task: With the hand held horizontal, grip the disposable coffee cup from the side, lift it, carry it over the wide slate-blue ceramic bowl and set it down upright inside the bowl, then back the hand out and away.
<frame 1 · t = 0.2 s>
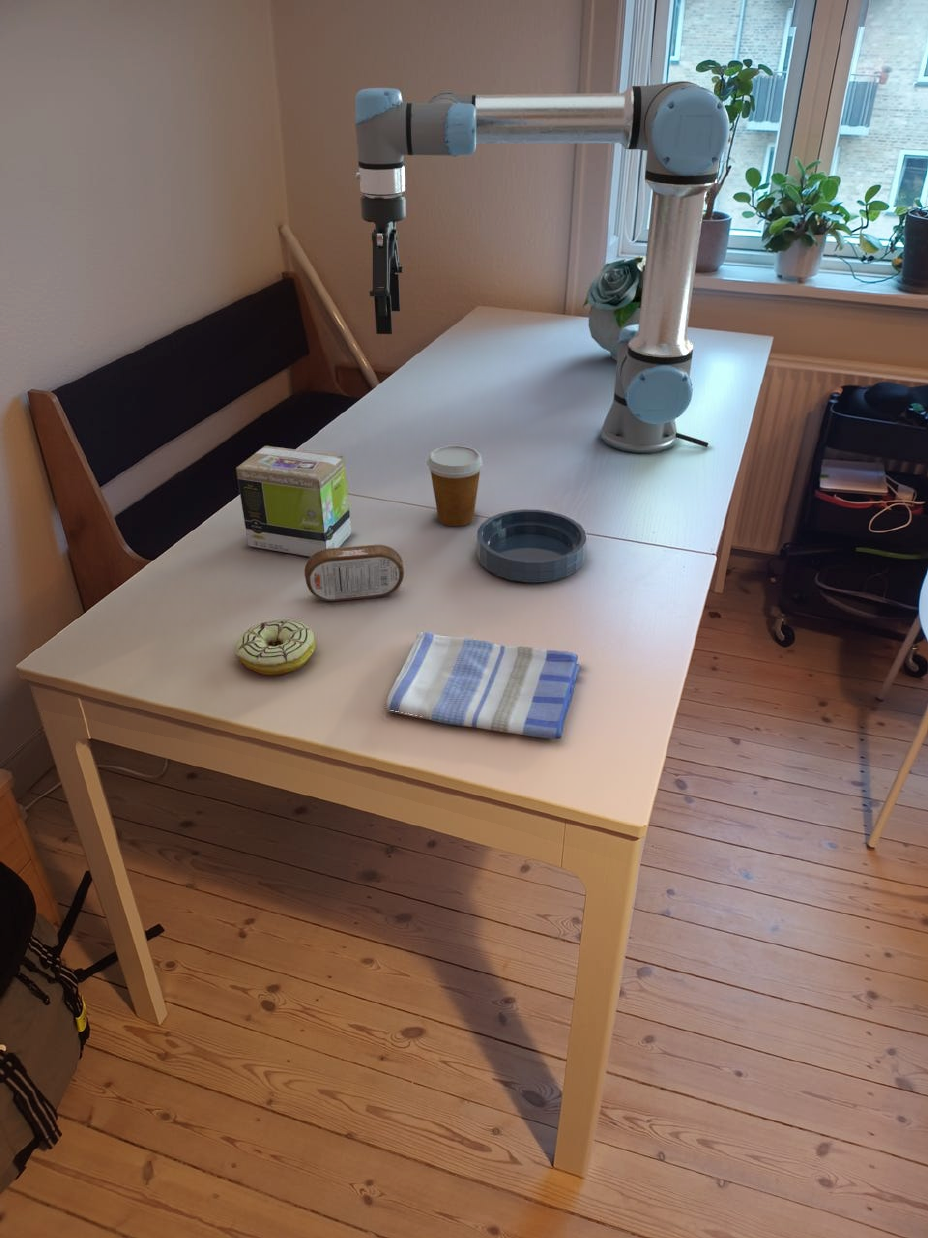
hand: (388, 321, 169), 28 cm above the table, tool pointing down, fingers open, 13 cm apart
tin: (356, 597, 145), on the table
tea box: (300, 541, 160), on the table
disposable coffee cup: (455, 519, 166), on the table
dish towel: (484, 691, 126), on the table
flower arrangement: (628, 358, 236), on the table
bowl: (530, 556, 155), on the table
decorated donut: (277, 658, 132), on the table
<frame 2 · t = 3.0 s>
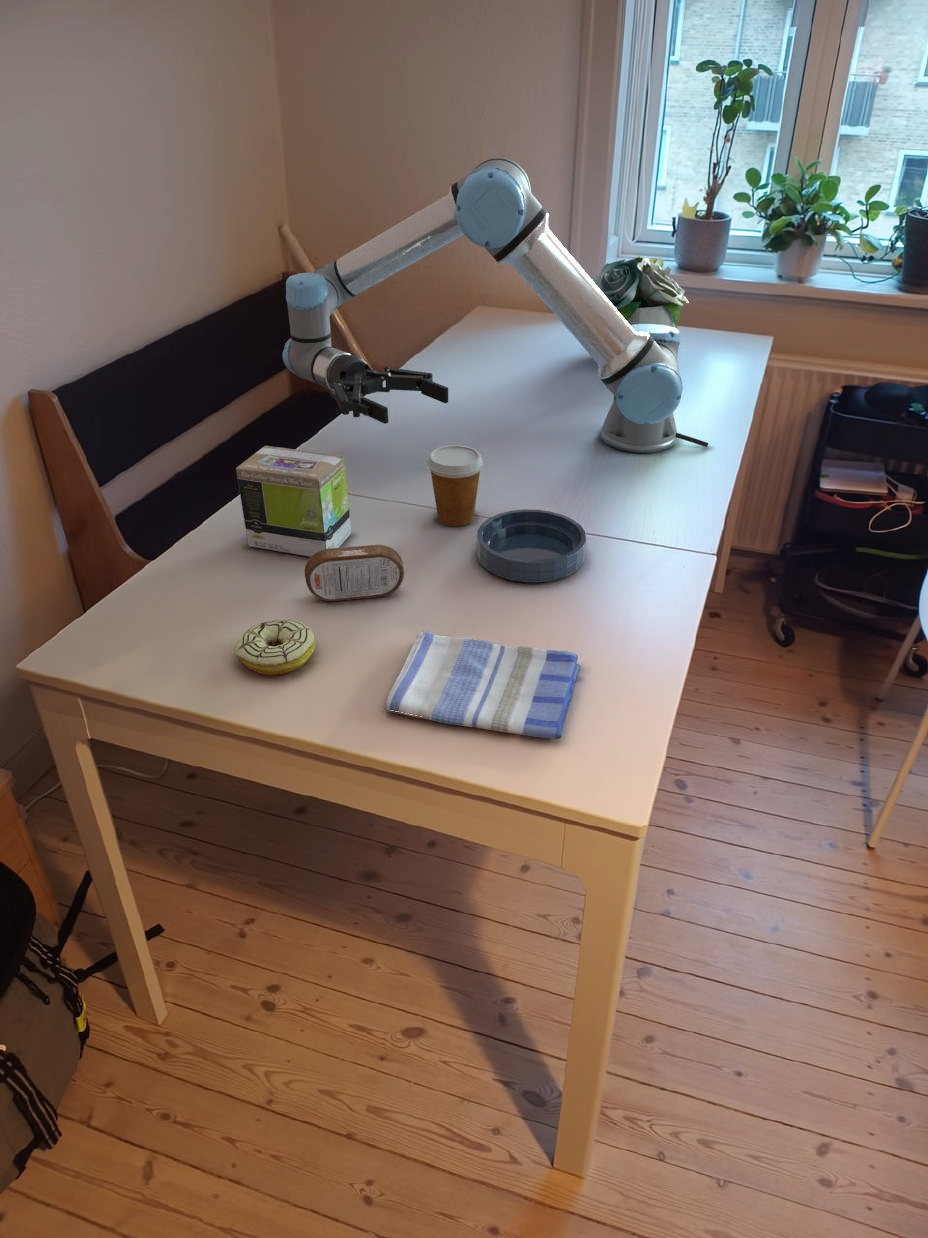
hand: (417, 405, 162), 18 cm above the table, tool horizontal, fingers open, 13 cm apart
nothing on the table moved.
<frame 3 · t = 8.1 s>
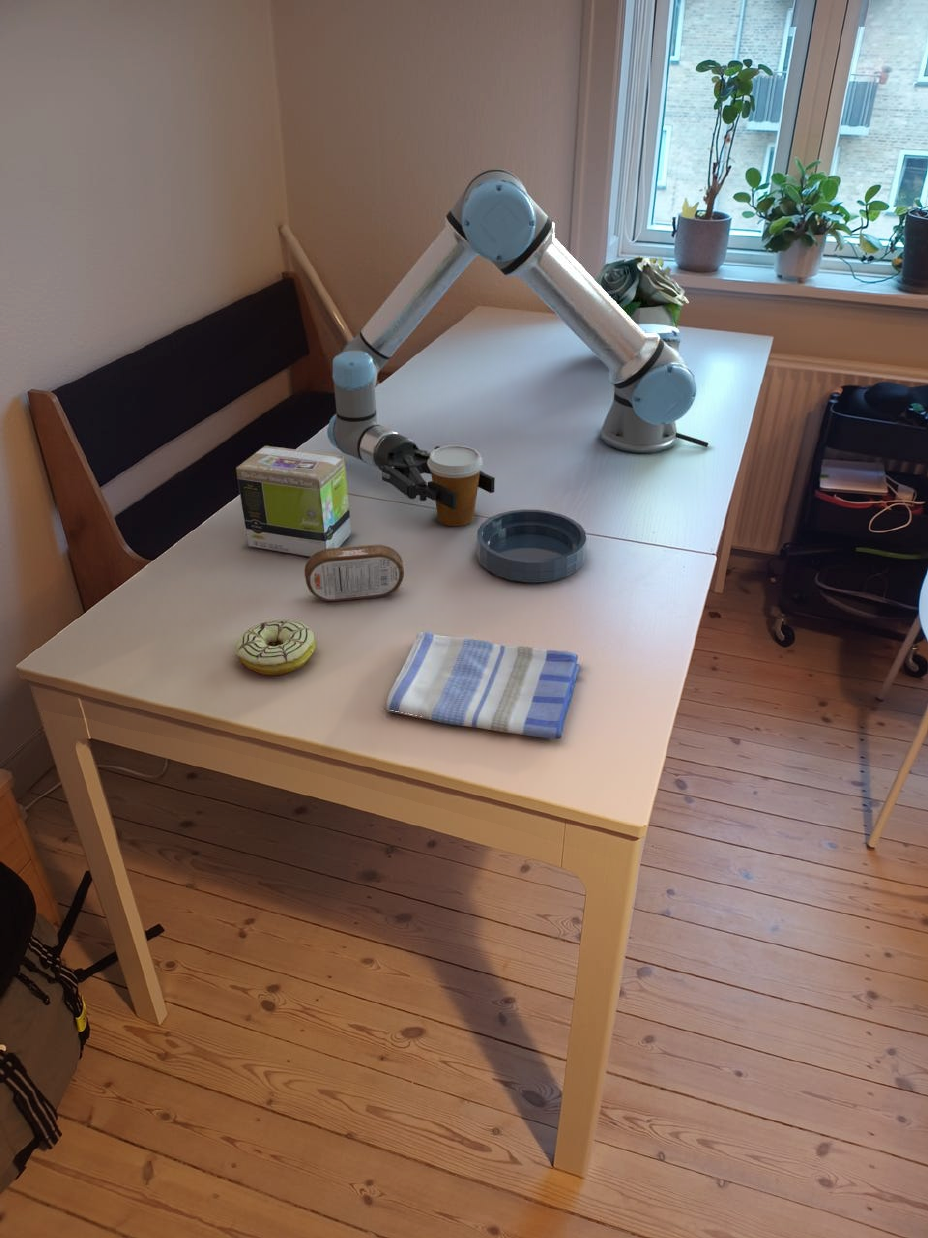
hand: (474, 493, 159), 7 cm above the table, tool horizontal, fingers closed on disposable coffee cup, 8 cm apart
disposable coffee cup: (455, 519, 166), on the table, touching gripper
everything else where it was.
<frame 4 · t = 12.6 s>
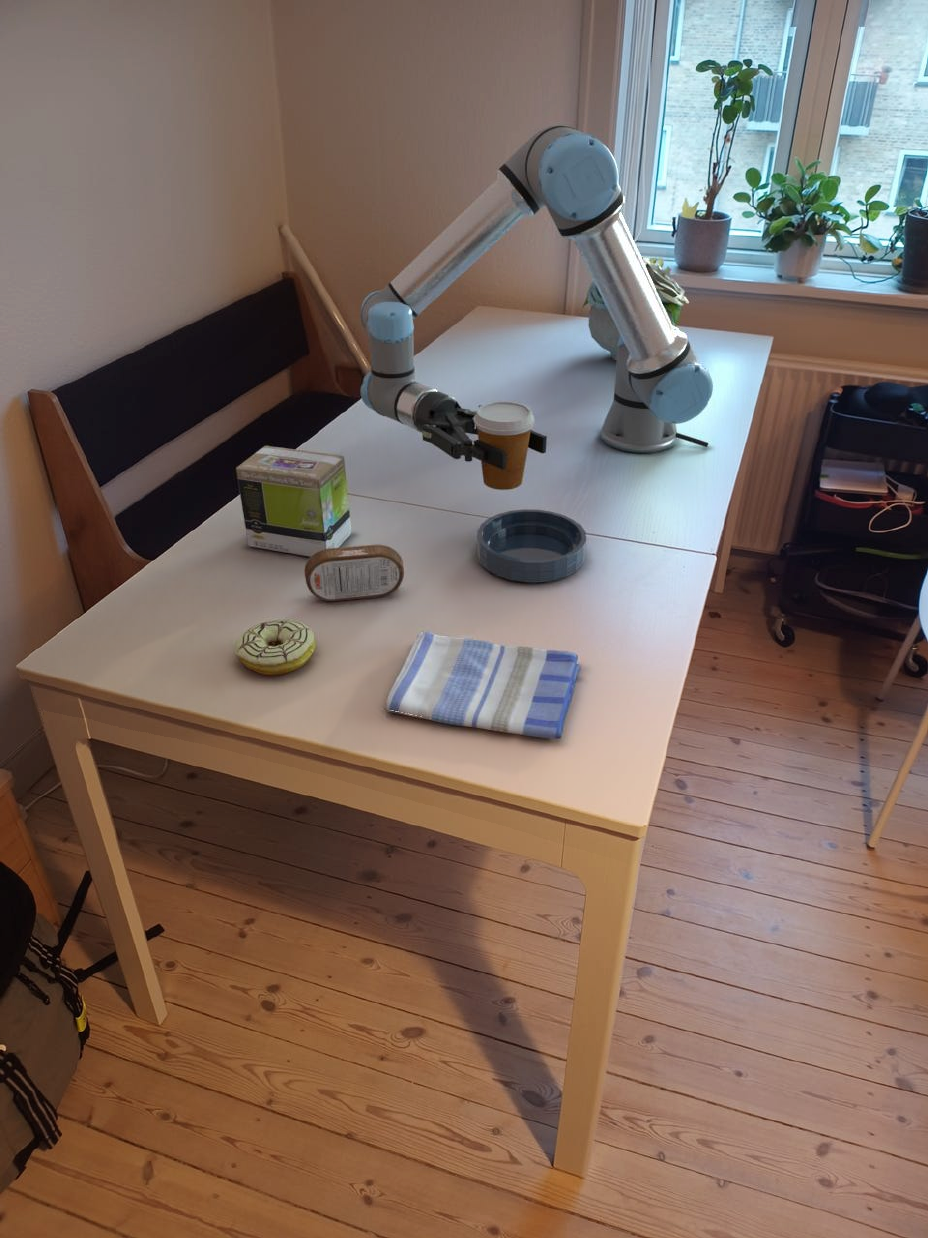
hand: (524, 452, 146), 18 cm above the table, tool horizontal, fingers closed on disposable coffee cup, 8 cm apart
disposable coffee cup: (502, 482, 152), point 11 cm above the table, touching gripper
everything else where it was.
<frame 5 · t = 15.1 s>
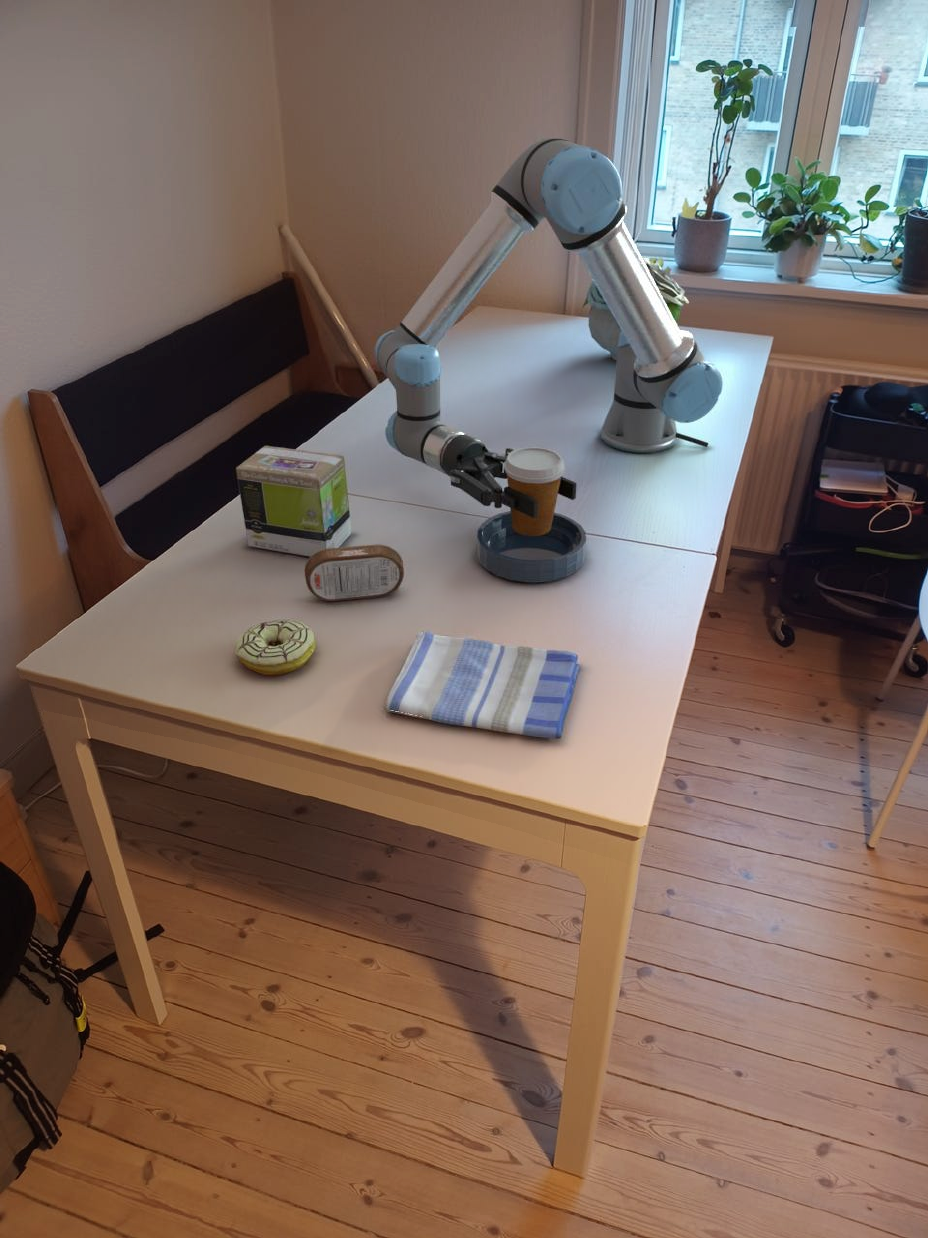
hand: (555, 500, 145), 12 cm above the table, tool horizontal, fingers closed on disposable coffee cup, 8 cm apart
disposable coffee cup: (531, 528, 152), point 5 cm above the table, touching gripper
everything else where it was.
when the fingers open (7 cm above the table, at t = 17.1 s): disposable coffee cup stays where it is, resting on bowl.
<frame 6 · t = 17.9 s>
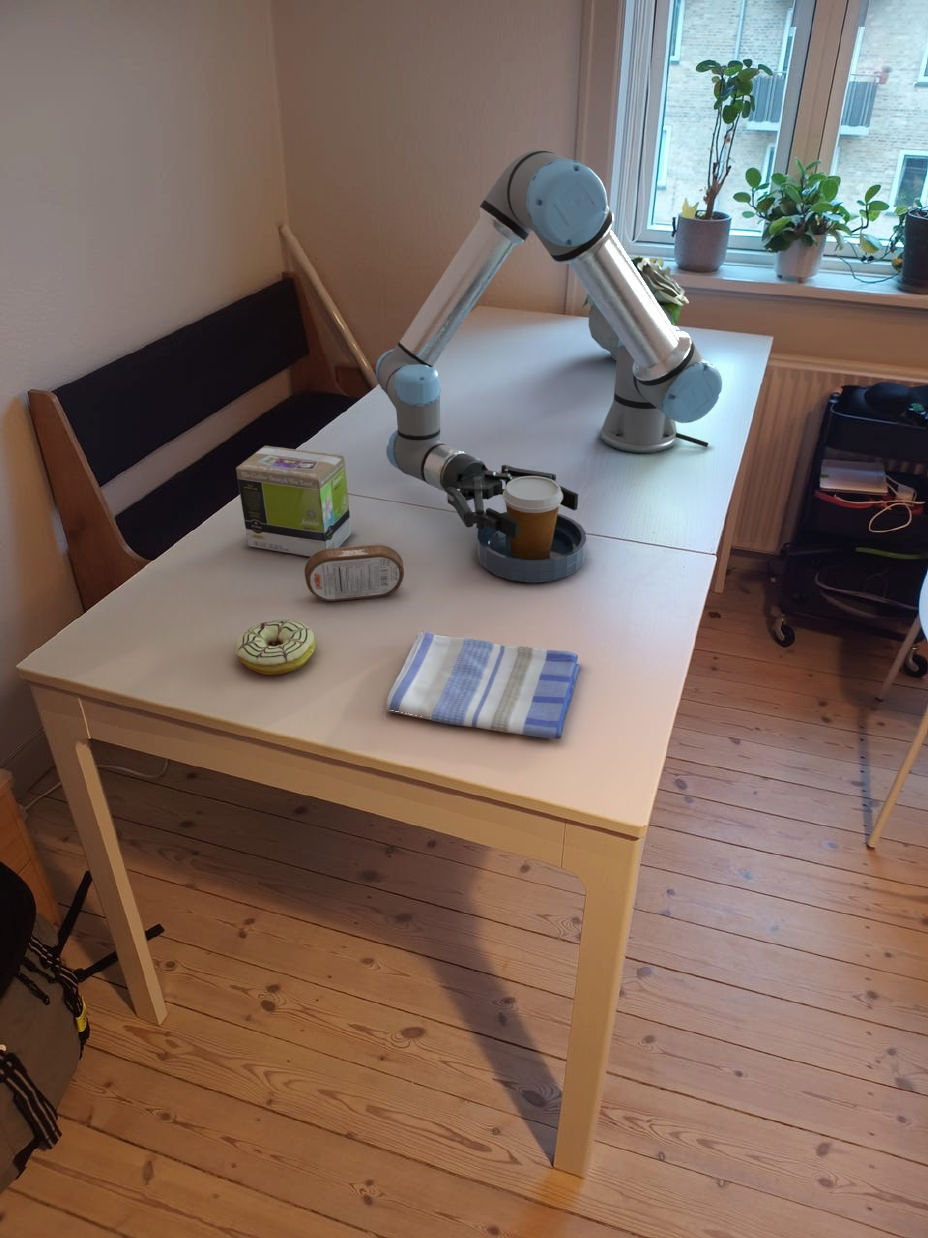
hand: (547, 516, 148), 9 cm above the table, tool horizontal, fingers open, 13 cm apart
disposable coffee cup: (530, 554, 154), resting on bowl
everything else where it was.
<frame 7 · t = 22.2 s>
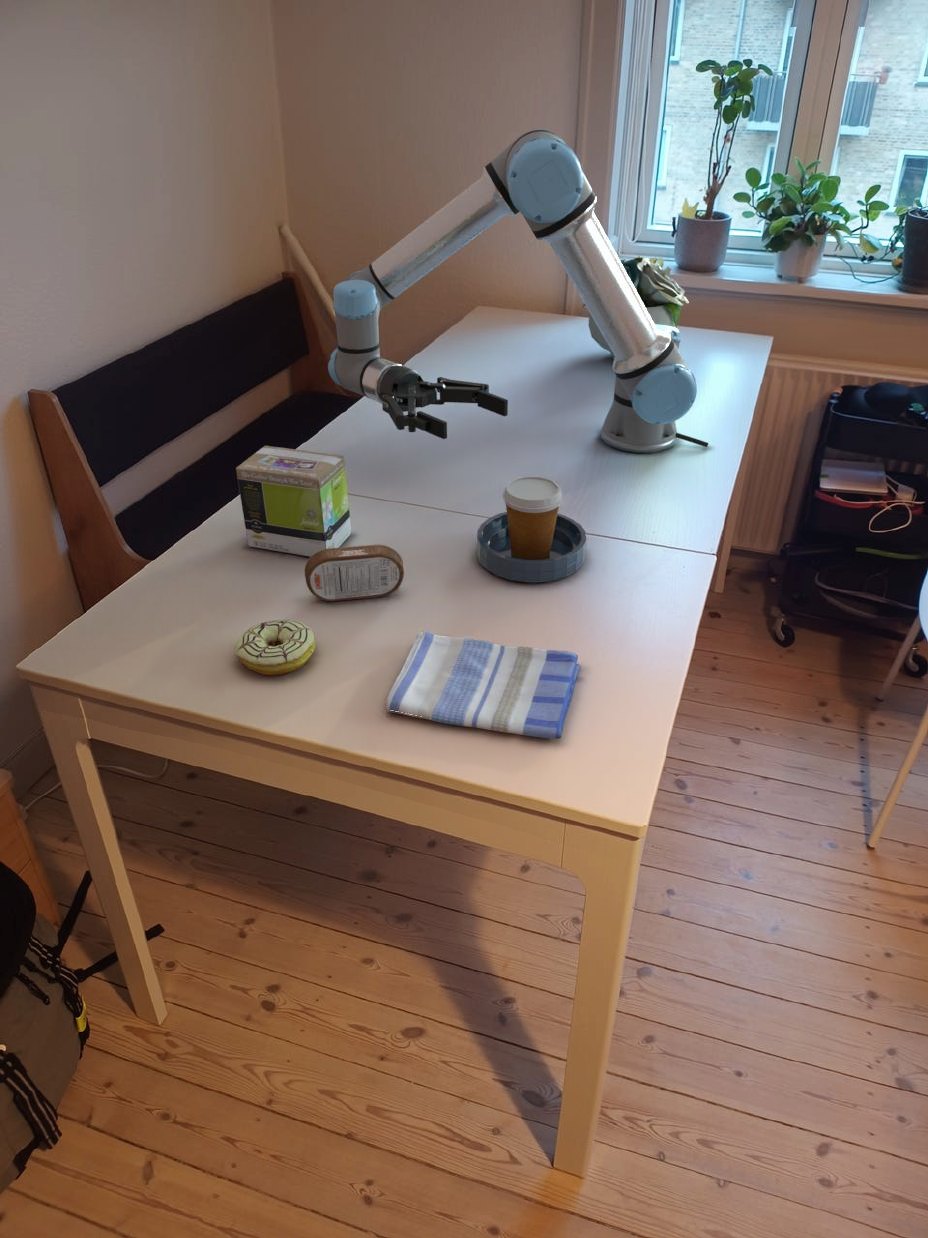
hand: (476, 419, 153), 19 cm above the table, tool horizontal, fingers open, 13 cm apart
nothing on the table moved.
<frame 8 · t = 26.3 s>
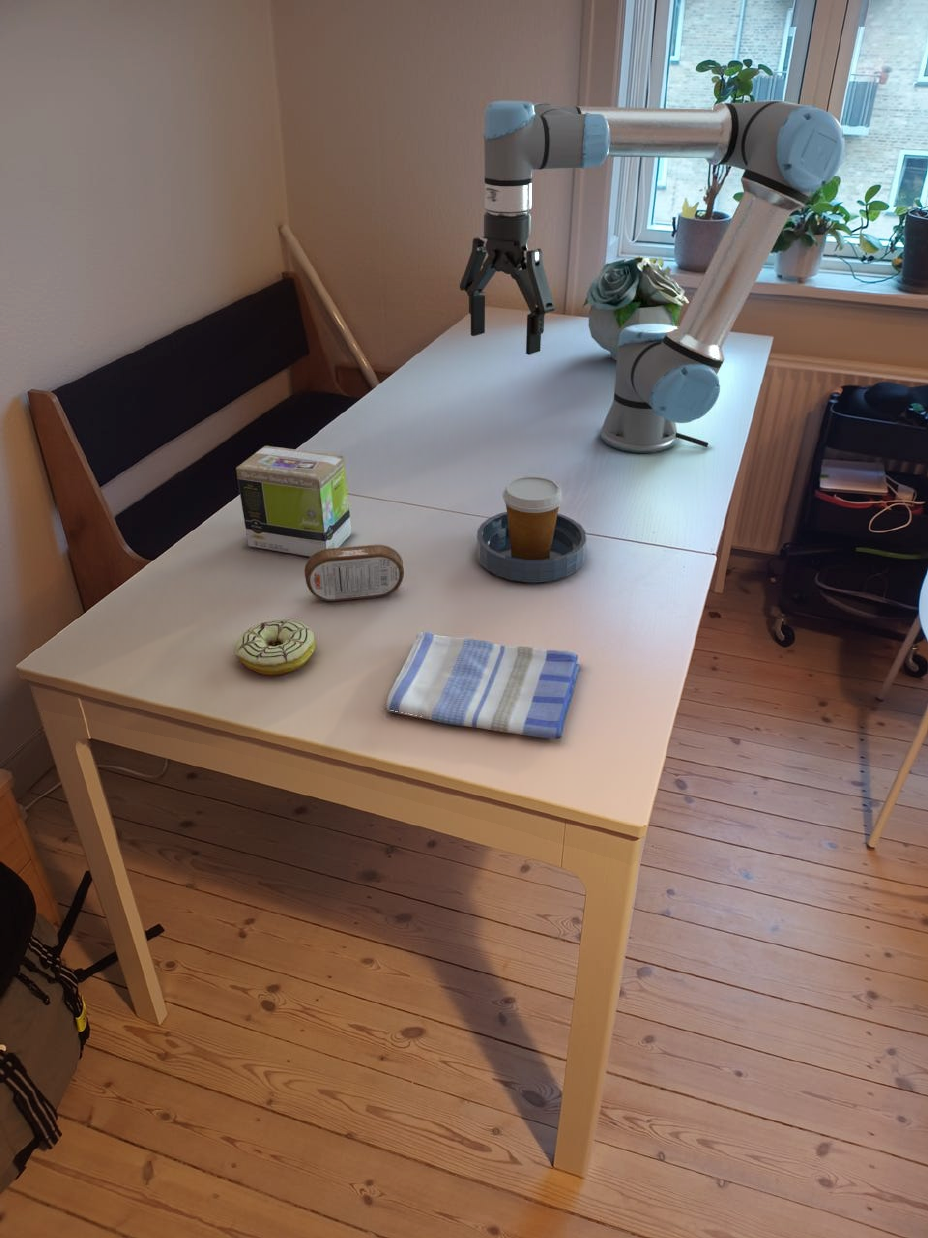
hand: (504, 343, 162), 27 cm above the table, tool pointing down, fingers open, 13 cm apart
nothing on the table moved.
at the end: disposable coffee cup inside the target area in the bowl (0.1 cm from its centre), point 0.4 cm above the bowl's base; disposable coffee cup tilted 0°; the gripper is holding nothing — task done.
